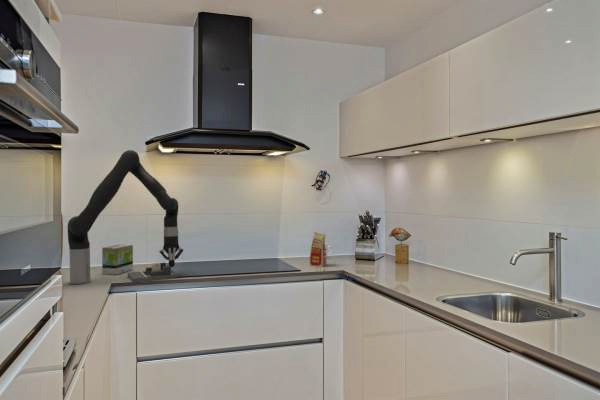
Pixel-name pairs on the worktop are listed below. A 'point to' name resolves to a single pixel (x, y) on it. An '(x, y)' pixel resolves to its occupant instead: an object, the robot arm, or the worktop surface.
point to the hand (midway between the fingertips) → (171, 267)
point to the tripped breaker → (156, 267)
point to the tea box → (117, 259)
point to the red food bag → (318, 251)
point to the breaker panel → (142, 278)
